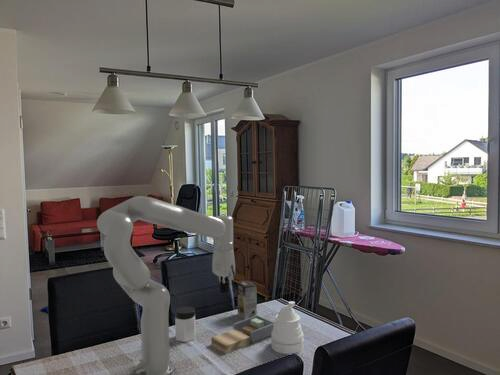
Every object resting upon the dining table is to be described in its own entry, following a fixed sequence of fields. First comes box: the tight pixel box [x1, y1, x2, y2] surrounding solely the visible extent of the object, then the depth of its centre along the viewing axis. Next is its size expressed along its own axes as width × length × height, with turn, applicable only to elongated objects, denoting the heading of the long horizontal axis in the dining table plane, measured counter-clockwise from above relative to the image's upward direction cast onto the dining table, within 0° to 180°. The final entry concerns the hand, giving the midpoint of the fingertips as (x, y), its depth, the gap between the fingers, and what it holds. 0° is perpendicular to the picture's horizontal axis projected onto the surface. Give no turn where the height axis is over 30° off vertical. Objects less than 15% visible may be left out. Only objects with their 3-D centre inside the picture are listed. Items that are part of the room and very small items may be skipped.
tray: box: [232, 314, 275, 345], centre depth 168 cm, size 14×12×5 cm
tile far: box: [251, 318, 264, 328], centre depth 169 cm, size 5×5×3 cm
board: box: [210, 329, 251, 354], centre depth 160 cm, size 12×10×3 cm
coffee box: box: [236, 279, 258, 320], centre depth 189 cm, size 9×6×16 cm
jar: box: [174, 306, 197, 343], centre depth 167 cm, size 9×8×12 cm
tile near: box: [242, 325, 259, 336], centre depth 167 cm, size 5×5×3 cm
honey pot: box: [270, 300, 305, 355], centre depth 157 cm, size 13×13×18 cm
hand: (224, 291), depth 159 cm, fingers closed
